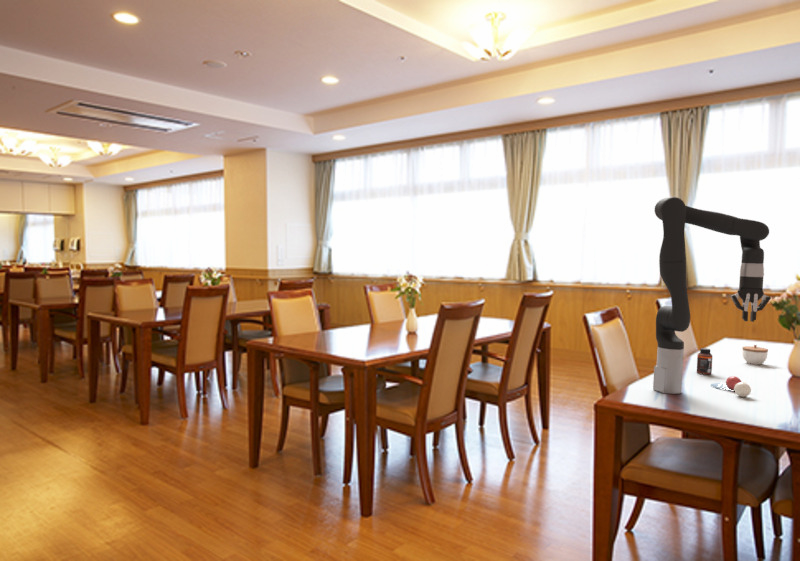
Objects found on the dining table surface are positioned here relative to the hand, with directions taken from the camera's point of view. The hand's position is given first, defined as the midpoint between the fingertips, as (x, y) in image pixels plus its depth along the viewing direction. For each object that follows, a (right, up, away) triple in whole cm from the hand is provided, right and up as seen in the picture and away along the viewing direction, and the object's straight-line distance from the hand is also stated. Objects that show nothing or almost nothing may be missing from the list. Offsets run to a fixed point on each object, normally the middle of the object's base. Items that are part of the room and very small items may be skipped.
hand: (748, 321), depth 210 cm
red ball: (+1, -26, +12) cm, 28 cm away
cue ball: (-1, -26, +2) cm, 26 cm away
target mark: (+2, -28, +16) cm, 32 cm away
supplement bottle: (+6, -27, +41) cm, 50 cm away
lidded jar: (+45, -26, +68) cm, 86 cm away
